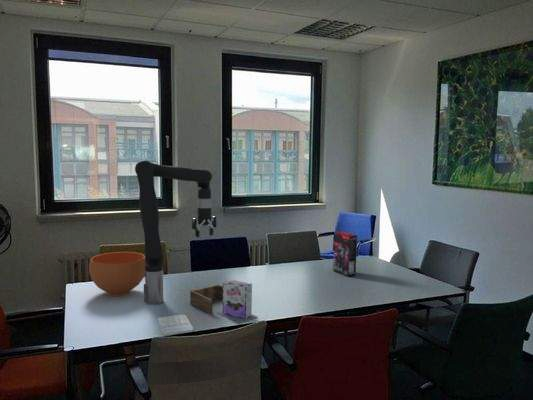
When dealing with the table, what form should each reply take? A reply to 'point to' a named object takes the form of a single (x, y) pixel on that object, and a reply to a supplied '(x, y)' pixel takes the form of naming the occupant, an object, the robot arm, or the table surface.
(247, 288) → the candy box
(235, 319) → the slate mat
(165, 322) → the calculator
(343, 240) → the graphics card box
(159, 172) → the robot arm
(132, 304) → the table surface
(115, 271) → the bowl
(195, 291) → the walnut u-shaped frame
